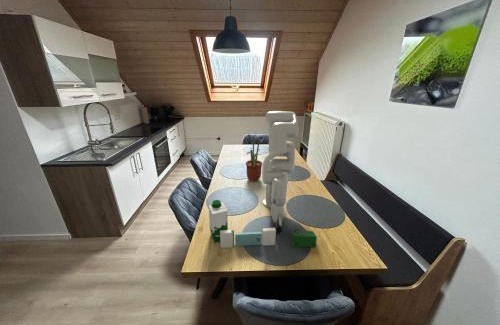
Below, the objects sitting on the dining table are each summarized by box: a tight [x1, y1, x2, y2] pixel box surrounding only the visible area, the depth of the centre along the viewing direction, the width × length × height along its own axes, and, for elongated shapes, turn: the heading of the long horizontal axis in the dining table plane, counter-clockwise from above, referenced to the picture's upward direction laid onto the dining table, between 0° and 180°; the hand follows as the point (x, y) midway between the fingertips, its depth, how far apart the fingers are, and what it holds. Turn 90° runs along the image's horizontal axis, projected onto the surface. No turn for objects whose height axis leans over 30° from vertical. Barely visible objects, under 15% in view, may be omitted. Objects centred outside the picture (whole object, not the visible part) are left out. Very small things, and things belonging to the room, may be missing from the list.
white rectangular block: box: [219, 227, 277, 249], centre depth 104 cm, size 2×27×9 cm, turn 95°
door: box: [234, 231, 263, 247], centre depth 104 cm, size 2×13×7 cm, turn 95°
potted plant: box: [245, 137, 263, 183], centre depth 164 cm, size 17×16×35 cm
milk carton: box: [208, 199, 229, 244], centre depth 107 cm, size 9×9×20 cm
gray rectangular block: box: [269, 215, 284, 233], centre depth 115 cm, size 4×6×8 cm
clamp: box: [291, 230, 318, 248], centre depth 107 cm, size 12×6×9 cm, turn 84°
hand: (276, 227), depth 116 cm, fingers open, 7 cm apart
